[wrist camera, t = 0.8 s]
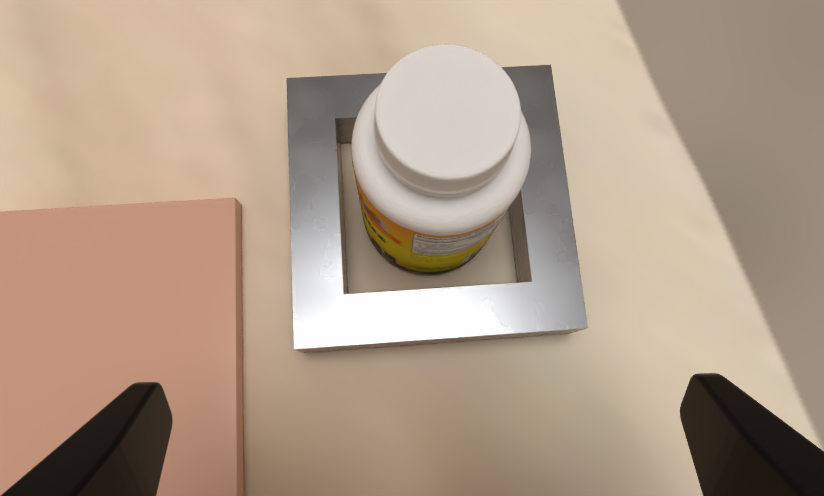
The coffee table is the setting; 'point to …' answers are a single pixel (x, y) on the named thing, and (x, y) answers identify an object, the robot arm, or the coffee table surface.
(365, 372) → the coffee table surface
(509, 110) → the supplement bottle
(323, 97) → the frame
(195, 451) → the tile
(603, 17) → the coffee table surface
